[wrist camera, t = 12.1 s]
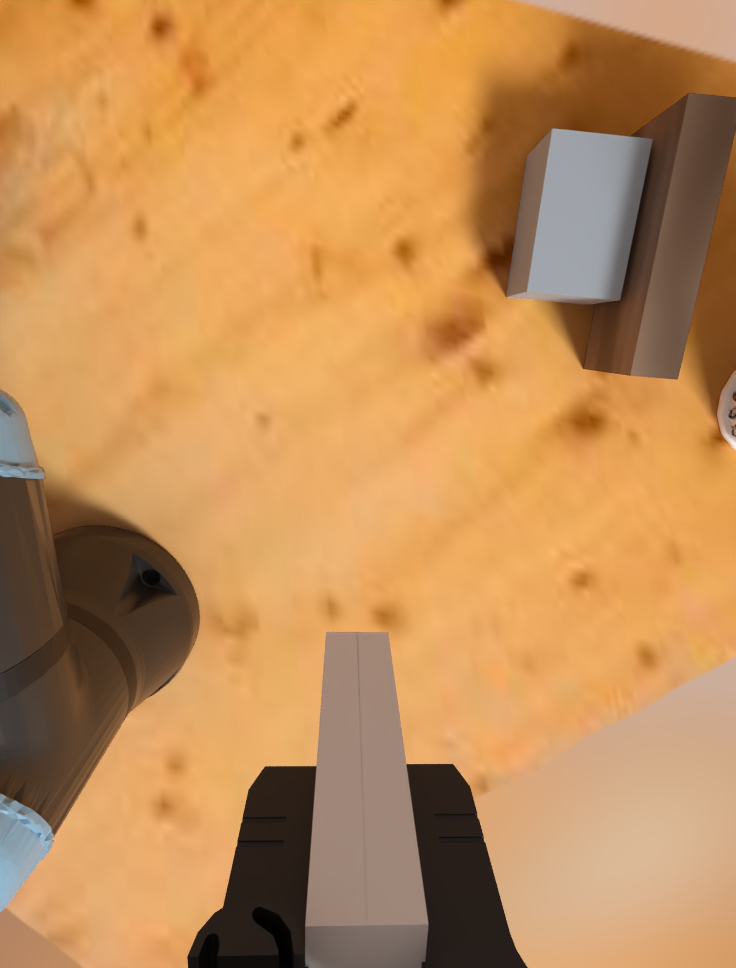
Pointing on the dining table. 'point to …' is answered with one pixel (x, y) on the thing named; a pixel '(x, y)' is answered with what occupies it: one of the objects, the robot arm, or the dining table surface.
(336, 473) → the dining table surface
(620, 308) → the board
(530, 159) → the slate block
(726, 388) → the decorative candle
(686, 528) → the dining table surface
